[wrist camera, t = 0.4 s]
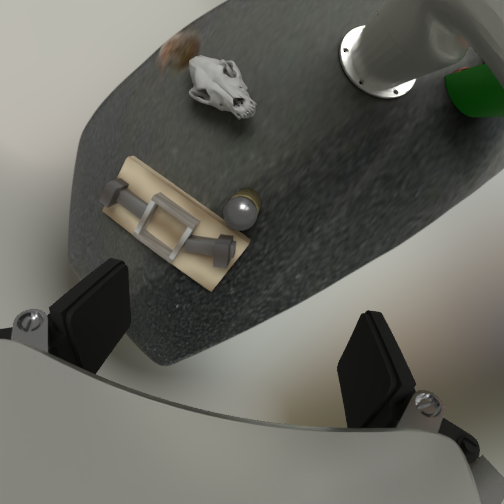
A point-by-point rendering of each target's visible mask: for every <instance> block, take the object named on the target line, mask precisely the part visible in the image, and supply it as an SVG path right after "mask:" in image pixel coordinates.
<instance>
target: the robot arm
mask: <svg viewBox="0 0 504 504" xmlns="http://www.w3.org/2000/svg"><path fill="white" fill-rule="evenodd" d="M469 44H470V46H471V47H472V48H473V49H474V50H475V52H476V53H478V54H479V55H480V57H481V58H482V59H483V61H484V62H485V63H486V64H487V66H488V67H489V69H490V70H491V71H492V73H493V74H494V75H495V77H496V78H497V80H498V81H499V83H500V84H501V86H502V87H503V89H504V0H385V1H384V2H383V4H382V5H381V6H380V8H379V9H378V10H377V12H376V13H375V14H374V15H373V17H372V18H371V19H370V21H369V22H368V23H367V25H366V26H360V27H357V28H354V29H352V30H351V31H350V32H348V33H347V34H346V35H345V37H344V38H343V40H342V42H341V45H340V49H339V57H340V62H341V65H342V67H343V70H344V71H345V73H346V75H347V76H348V78H349V79H350V80H351V81H352V82H353V83H354V84H355V85H356V86H357V87H358V88H360V89H361V90H363V91H364V92H366V93H368V94H370V95H372V96H375V97H379V98H386V99H389V98H396V97H400V96H402V95H404V94H406V93H407V92H408V91H410V89H411V88H412V87H413V85H414V83H415V81H416V78H419V77H421V76H424V75H427V74H429V73H432V72H434V71H437V70H440V69H442V68H445V67H448V66H450V65H453V64H455V63H457V62H459V61H460V60H461V59H462V58H463V57H464V55H465V54H466V52H467V50H468V47H469ZM344 51H346V53H345V52H344ZM359 82H361V83H362V84H360V83H359ZM393 91H394V92H395V94H394V93H393ZM49 310H50V314H48V315H46V313H45V312H43V311H41V310H38V309H30V310H26V311H23V312H21V313H20V314H19V315H17V317H16V318H15V320H14V323H13V327H11V328H5V329H0V504H501V502H502V501H503V499H504V477H503V476H502V475H501V474H500V473H499V472H498V471H497V470H496V469H495V468H494V466H492V464H491V463H490V462H489V461H488V460H487V459H486V458H485V457H484V456H483V455H482V456H480V457H479V452H480V449H479V444H478V442H477V440H476V439H475V438H474V437H473V436H472V435H470V434H469V433H467V432H465V431H464V430H462V429H461V428H459V427H457V426H456V425H454V424H453V423H451V422H449V421H448V420H446V419H445V418H443V415H444V410H445V409H444V405H443V403H442V401H441V400H440V398H439V397H438V396H437V395H435V394H434V393H432V392H430V391H426V390H419V391H417V392H416V391H415V389H414V387H415V385H416V383H415V380H414V378H413V376H412V374H411V371H410V369H409V367H408V365H407V363H406V361H405V359H404V357H403V354H402V352H401V350H400V348H399V346H398V344H397V342H396V340H395V338H394V336H393V334H392V332H391V330H390V328H389V327H388V324H387V323H386V321H385V319H384V317H383V315H382V313H381V312H376V311H369V310H368V311H366V312H365V313H363V314H361V316H360V318H359V320H358V322H357V325H356V327H355V329H354V331H353V334H352V336H351V338H350V340H349V342H348V344H347V346H346V348H345V350H344V352H343V355H342V357H341V358H340V360H339V363H338V366H337V372H338V377H339V382H340V387H341V393H342V397H343V403H344V409H345V415H346V421H347V427H348V428H331V427H312V426H298V425H289V424H280V423H272V422H265V421H258V420H251V419H245V418H240V417H233V416H229V415H224V414H219V413H214V412H210V411H205V410H201V409H197V408H193V407H189V406H186V405H182V404H178V403H175V402H171V401H168V400H165V399H161V398H158V397H155V396H151V395H149V394H146V393H142V392H140V391H137V390H134V389H131V388H128V387H126V386H123V385H120V384H118V383H115V382H113V381H110V380H108V379H105V378H103V377H100V376H98V375H96V373H97V371H98V370H99V369H100V367H101V366H102V364H103V363H104V361H105V360H106V359H107V357H108V356H109V354H110V353H111V352H112V350H113V349H114V347H115V346H116V345H117V343H118V342H119V341H120V339H121V338H122V336H123V335H124V334H125V332H126V331H127V330H128V328H129V327H130V324H131V312H130V298H129V279H128V267H127V265H125V263H124V261H121V260H117V259H113V258H110V259H108V260H107V261H106V262H104V263H103V264H102V265H100V266H99V267H98V268H97V269H95V270H94V271H93V272H91V273H90V274H89V275H88V276H86V277H85V278H84V279H83V280H81V281H80V282H79V283H78V284H77V285H75V286H74V287H73V288H72V289H70V290H69V291H68V292H67V293H66V294H64V295H63V296H62V297H61V298H60V299H59V300H57V301H56V302H55V303H54V304H53V305H52V306H50V307H49Z"/></svg>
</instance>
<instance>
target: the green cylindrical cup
mask: <svg viewBox="0 0 504 504" xmlns="http://www.w3.org/2000/svg"><path fill="white" fill-rule="evenodd" d="M445 83H446V88H447V91H448V94H449V96H450V98H451V100H452V102H453V103H454V105H455V106H456V107H457V108H458V110H459V111H461V112H462V113H463V114H465V115H466V116H469V117H504V89H503V87H502V86H501V84H500V83H499V81H498V80H497V78H496V77H495V75H494V74H493V73H492V71H491V70H490V69H489V67H488V66H487V64H486V63H485V64H481V65H478V66H475V67H472V68H468V67H465V68H462V69H459V70H456V71H454V72H453V74H450V75H447V76H445Z"/></svg>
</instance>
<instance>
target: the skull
mask: <svg viewBox="0 0 504 504" xmlns="http://www.w3.org/2000/svg"><path fill="white" fill-rule="evenodd" d="M189 68H190V75H191V78H192V82H193V85H194V86H193V88H192V89H191V90H190V91H189V95H190V96H191V97H192V98H193V99H195V100H196V101H198V102H201V103H203V104H207V105H211V106H214V107H216V108H217V109H219V110H221V111H224V110H225V111H229V112H232V113H233V114H234V115H235V116H236V117H237V118H238V119H241V118H250V117H252V116H253V115H254V113H255V105H257V104H256V103H255V102H254V101H253V100H252V99H251V98H250V97H249V94H248V92H247V87H246V86H245V84H244V82H243V80H242V76H241V73H240V71H239V69H238V67H237V66H236V64H235V62H233V61H225V60H223V59H222V60H220V61H219V60H217V59H213V58H208V57H205V56H202V55H200V56H196V57H194V58H193V59H191V60H190V61H189ZM233 71H234V72H235V73H236V74H235V73H234V72H233ZM227 75H228V76H227ZM206 91H207V92H206ZM195 96H202V97H204V99H205V100H204V99H202V98H200V97H195ZM241 102H243V104H241ZM238 105H240V107H239V106H238ZM248 111H249V112H248ZM239 114H240V115H241V116H239Z"/></svg>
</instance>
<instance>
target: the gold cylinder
mask: <svg viewBox="0 0 504 504" xmlns="http://www.w3.org/2000/svg"><path fill="white" fill-rule="evenodd" d="M260 208H261V198H260V196H259V194H258V193H257V192H256V191H255V190H253V189H250V188H244V189H241V190H239V191H238V192H236V193H235V195H234V196H233V197H232V198H231V199H230V200H229V201H228V202H227V203H226V205H225V207H224V209H223V217H224V220H225V222H226V223H227V225H228V226H230V227H231V228H233V229H235V230H246V229H249V228H250V227H252V226H253V225H254V223H255V221H256V219H257V216H258V213H259V210H260Z"/></svg>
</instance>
